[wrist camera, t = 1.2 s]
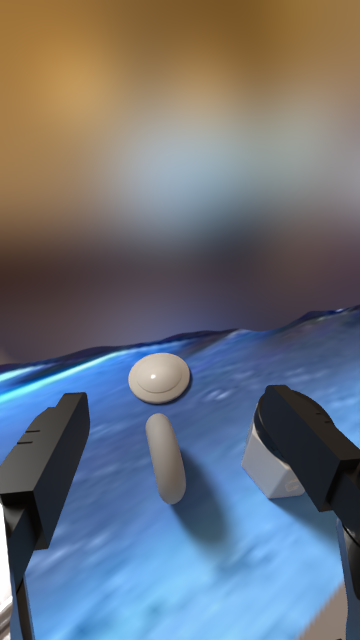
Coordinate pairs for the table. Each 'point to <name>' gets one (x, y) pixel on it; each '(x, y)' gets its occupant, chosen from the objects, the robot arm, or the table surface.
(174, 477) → the donut
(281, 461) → the jar
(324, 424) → the robot arm
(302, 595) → the table surface
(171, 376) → the plate
